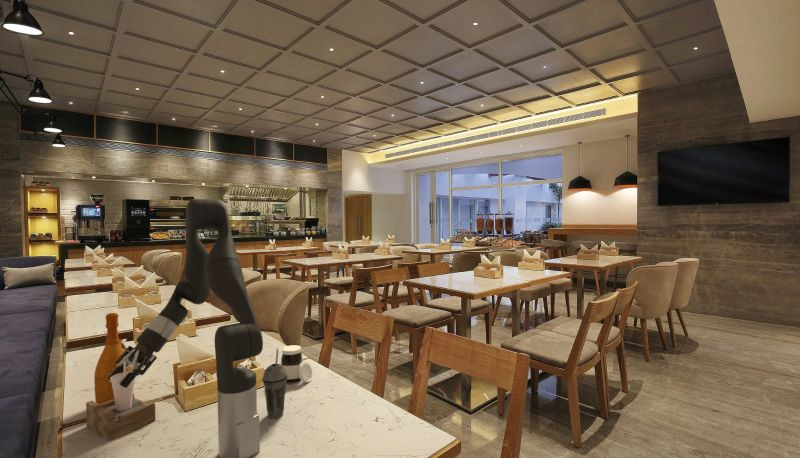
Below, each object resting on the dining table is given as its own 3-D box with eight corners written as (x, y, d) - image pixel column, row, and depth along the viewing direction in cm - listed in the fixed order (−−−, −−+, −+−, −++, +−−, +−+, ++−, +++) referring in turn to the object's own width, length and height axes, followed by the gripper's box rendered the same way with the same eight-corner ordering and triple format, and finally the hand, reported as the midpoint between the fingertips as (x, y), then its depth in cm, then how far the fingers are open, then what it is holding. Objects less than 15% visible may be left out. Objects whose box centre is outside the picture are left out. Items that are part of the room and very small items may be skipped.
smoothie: (123, 413, 111) (122, 365, 111) (104, 412, 112) (103, 363, 112) (142, 403, 117) (141, 357, 117) (124, 402, 119) (123, 356, 119)
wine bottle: (128, 408, 123) (125, 315, 122) (90, 414, 120) (87, 318, 119) (136, 395, 132) (134, 308, 132) (101, 401, 129) (98, 311, 128)
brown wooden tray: (155, 420, 116) (154, 397, 116) (108, 440, 106) (108, 415, 105) (132, 408, 123) (132, 387, 123) (86, 426, 113) (86, 402, 113)
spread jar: (283, 374, 150) (282, 344, 150) (313, 372, 152) (312, 342, 152) (279, 387, 138) (278, 355, 138) (311, 385, 140) (311, 353, 140)
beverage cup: (257, 417, 117) (256, 351, 117) (275, 406, 124) (274, 344, 123) (275, 423, 114) (274, 355, 114) (293, 412, 121) (292, 348, 120)
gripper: (137, 324, 124) (94, 372, 115) (160, 330, 117) (117, 383, 107) (155, 336, 129) (115, 383, 119) (178, 343, 121) (138, 394, 112)
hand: (116, 383), depth 113 cm, fingers open, 7 cm apart
